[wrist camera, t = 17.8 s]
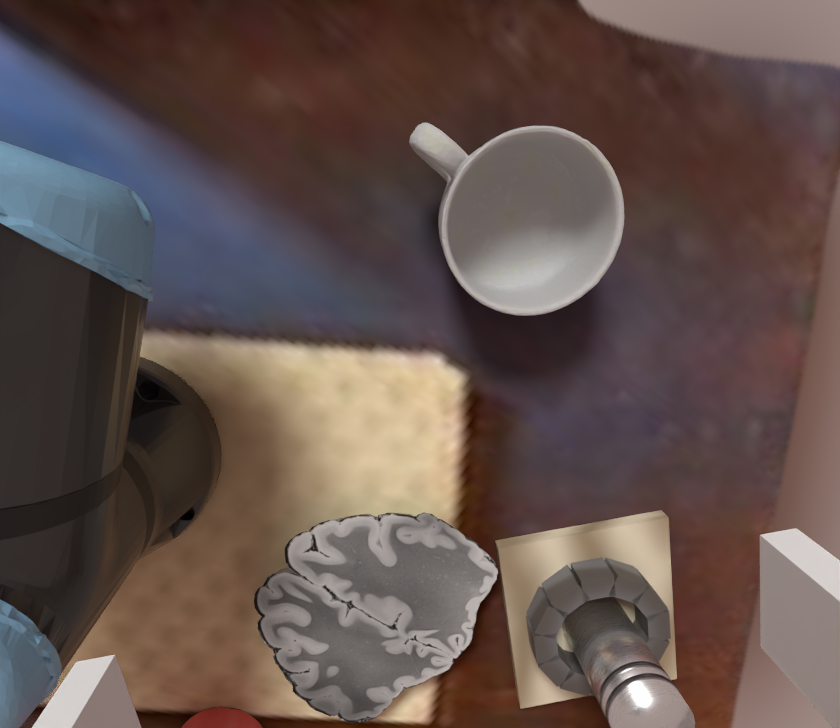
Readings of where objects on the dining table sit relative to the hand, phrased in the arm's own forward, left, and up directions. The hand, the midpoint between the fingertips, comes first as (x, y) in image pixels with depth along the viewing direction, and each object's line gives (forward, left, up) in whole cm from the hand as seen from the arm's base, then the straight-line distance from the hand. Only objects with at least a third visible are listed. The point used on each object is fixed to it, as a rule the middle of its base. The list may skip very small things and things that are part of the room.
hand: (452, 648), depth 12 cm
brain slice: (-6, -21, -32) cm, 39 cm away
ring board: (+12, -26, -32) cm, 43 cm away
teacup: (+8, +8, -32) cm, 34 cm away
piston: (+12, -26, -30) cm, 42 cm away
